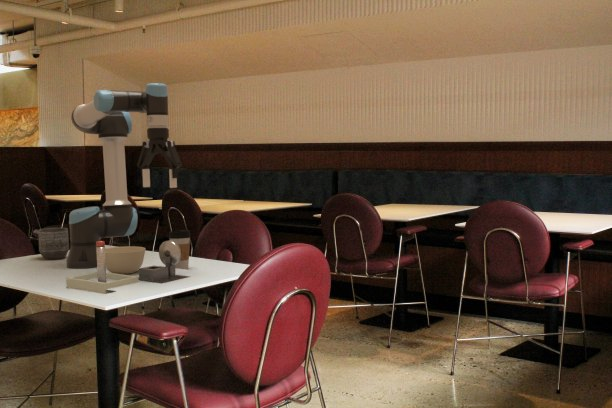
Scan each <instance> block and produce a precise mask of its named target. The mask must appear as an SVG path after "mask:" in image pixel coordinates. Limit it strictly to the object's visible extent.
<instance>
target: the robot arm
mask: <svg viewBox="0 0 612 408" xmlns="http://www.w3.org/2000/svg"><path fill="white" fill-rule="evenodd" d="M168 96H169V93H168V87H167V85H166V84H165V83H162V82H161V83H160V82H156V83H155V82H151V83H146V86H145V90H144V91H141V90H139V91H137V90H115V89H114V90H113V89H98V90H96V91H95V93H94V96H93V100H91V101H89V102H88V103H83V104H79V105H78V106H76V107H75V108H74V109H73V110H72V112H71V115H70V119H71V122H72V124H73V126H74V127H75V129H76V130H78V131H80V132H81V133H84V134H88V135H98V140H99V141H100V142H101V143H102V154H103V169H104V171H103V172H104V173H103V174H104V186H105V202H104V203H103V204H102V209H100V207H99V206H87V207H81V208H77V209H73V210H72V211H70V213H69V217H68V218H69V220H68V224H69V241H70V242H69V251H68V254H67V255H68V256H67V259H66V267H67V268H70V269H89V268H97V251H96V241H101V239H107V238H117V237H118V238H119V237H120V238H121V237H122V238H124V237H126V236H127V237H129V236H132V235H133V234H134V233H135V232H136V229H137V227H138V211H137V209H136V208H135V207H133V206H132V203H131V202H130V201H129V199H128V188H127V187H128V186H127V185H128V184H127V169H126V152H125V142H126V140H128V135H130V134H131V133H132V130H133V129H132V128H133V121H132V117H131V114H130V113H140V114H146V127H148V128H147V129H146V133H147V135H146V137H147V139H148V141H142V145H141V146H142V147H141V151H140V153H139V157H138V161H137V163H136V167H137V168H140V170H141V177H142V188H151V177H150V176H151V173H150V171H151V170H150V168H149V166H150V165H151V163H152V161H153V159H154V157H155V156H156V155H161V156H163V158H164V159H165V161H166V163H167V164H168V165H169V171H168V173H169V188H170V189H174V188H175V189H176V188H178V183H177V182H178V181H177V180H178V175H179V174H178V172H179V171H178V169H179V168H182V166H183V164H182V162H181V161H182V160H181V159H180V156H179V153H178V151H177V149H176V144H175V143H176V142H175V141H174V140H168V139H169V138H170V129H169V98H168Z"/></svg>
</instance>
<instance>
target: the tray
mask: <svg viewBox="0 0 612 408" xmlns="http://www.w3.org/2000/svg"><path fill="white" fill-rule="evenodd" d="M138 277H139V276H137V275H129V274H115V273H111V272H107V271H106V280H107V279H108V280H113V281H108V282H107V283H103V282H98V281H94V280H93V279H98V272H97V271H96V272H90V273H85V274H80V275H79V274H78V275H75V276H70V277H66V279H65V283H66V285H65V286H66V288H67V289H73V290H80V291H87V292H93V293H98V294H105V295H107V294H111V293H115V292H117V290H112V289H114V288H118V287H123V286H126V285H127V286H128V285H132V284H136V283H139V280H138Z"/></svg>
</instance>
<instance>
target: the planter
mask: <svg viewBox="0 0 612 408" xmlns="http://www.w3.org/2000/svg"><path fill="white" fill-rule="evenodd" d="M37 232H38V251H39V253H40V255H41V257H42V258H43V259H44V260H45V259H46V261H56V260H63V259H65V258H66V256H67V255H68V254H69V251H70V242H69V241H70V239H69V228H68V227H48V228H47V227H46V228H40V229H38V230H37Z"/></svg>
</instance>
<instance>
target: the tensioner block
mask: <svg viewBox="0 0 612 408" xmlns="http://www.w3.org/2000/svg"><path fill="white" fill-rule="evenodd" d="M158 258H159V259H160V261H161V263H162V264H163V266H162V265H161V266H160V265H149V266H144V267H140V268H139V269H138V276H137V277H138V280H139V281H140V282H147V283H152V284H153V283H155V284H161V285H162V284H167V283H171V282H175V281H179V280H184V279H188V278H190V276H187V275H180V274H176V268H175V265H176V264H178V263H179V261H180V259H181V250H180V247H179V245H178V244H177V243H176V242H175V241H173V240H170V239H169V240H165V241H163V242H162V243H161V244H160V245H159V249H158Z"/></svg>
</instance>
